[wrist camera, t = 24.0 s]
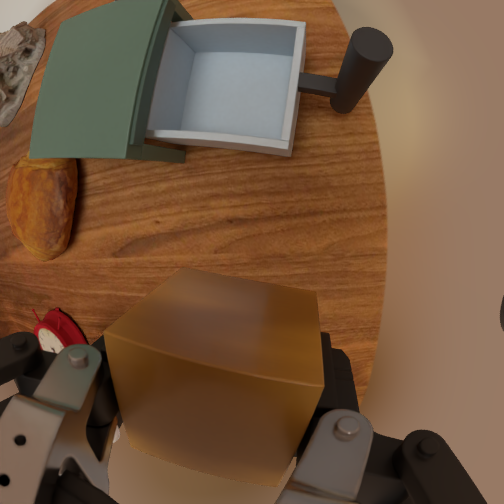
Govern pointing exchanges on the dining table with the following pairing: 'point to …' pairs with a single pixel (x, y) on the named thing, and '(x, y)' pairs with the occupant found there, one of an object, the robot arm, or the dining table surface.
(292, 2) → the dining table surface
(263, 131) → the drawer
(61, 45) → the cabinet
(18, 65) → the ceramic cottage
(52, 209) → the croissant
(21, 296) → the dining table surface
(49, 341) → the alarm clock
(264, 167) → the dining table surface
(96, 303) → the dining table surface
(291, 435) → the block
